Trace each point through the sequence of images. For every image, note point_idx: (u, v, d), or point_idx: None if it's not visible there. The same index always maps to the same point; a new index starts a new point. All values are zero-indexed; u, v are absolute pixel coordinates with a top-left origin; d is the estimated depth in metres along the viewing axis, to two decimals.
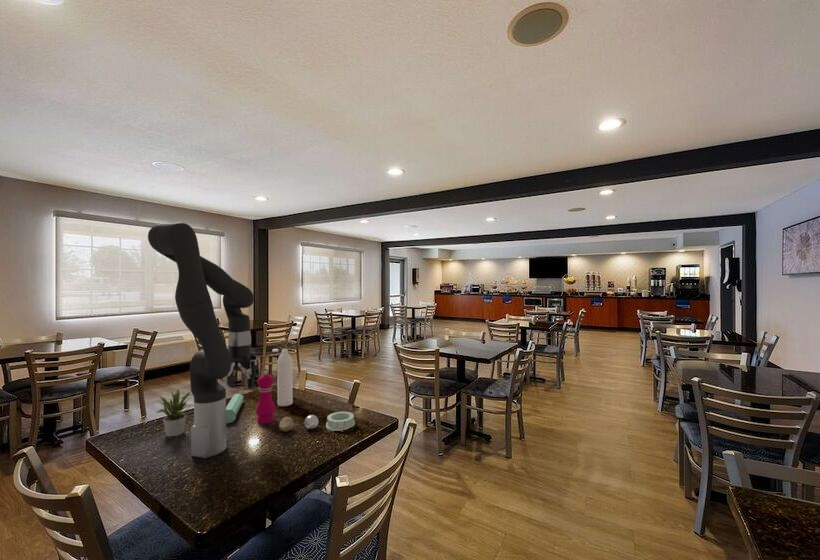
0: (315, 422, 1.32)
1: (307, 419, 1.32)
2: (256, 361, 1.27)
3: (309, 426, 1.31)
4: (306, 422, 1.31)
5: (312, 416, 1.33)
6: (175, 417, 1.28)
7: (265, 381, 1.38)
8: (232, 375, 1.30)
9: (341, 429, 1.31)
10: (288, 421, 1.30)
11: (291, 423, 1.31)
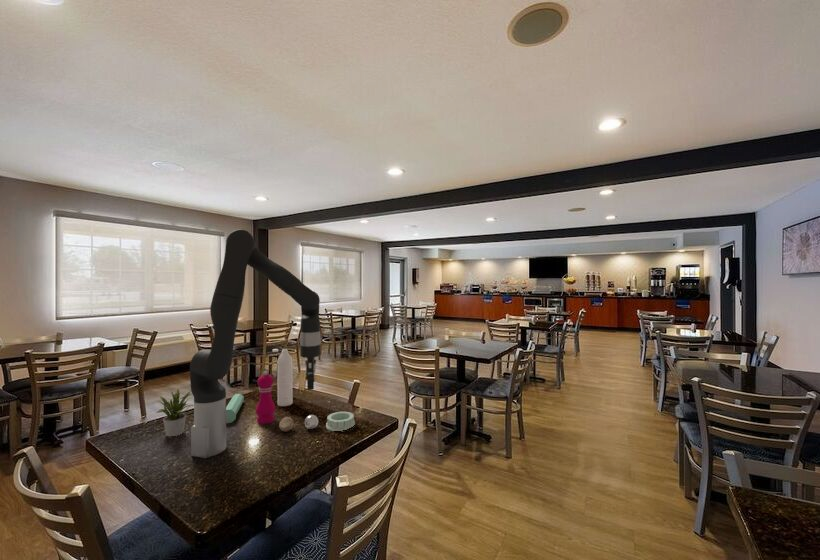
0: (315, 422, 1.32)
1: (307, 419, 1.32)
2: None
3: (309, 426, 1.31)
4: (306, 422, 1.31)
5: (312, 416, 1.33)
6: (175, 417, 1.28)
7: (265, 381, 1.38)
8: None
9: (341, 429, 1.31)
10: (288, 421, 1.30)
11: (291, 423, 1.31)
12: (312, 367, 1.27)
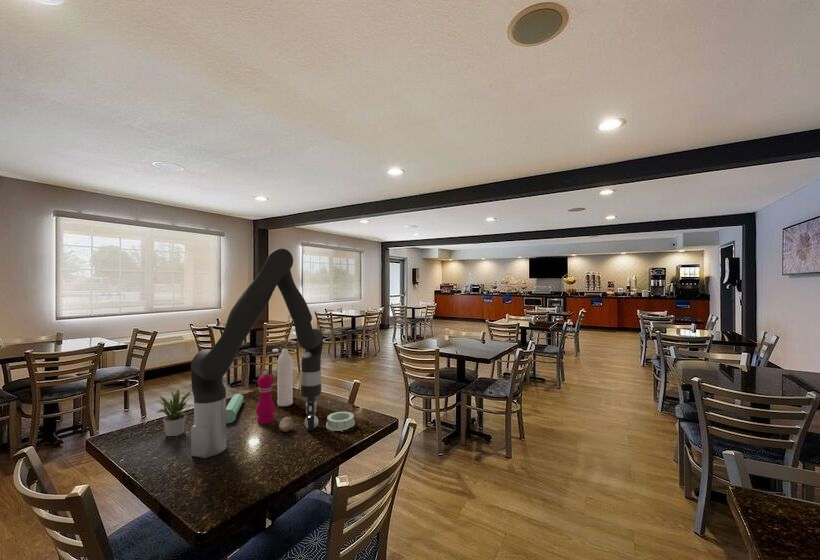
0: (315, 422, 1.32)
1: None
2: None
3: None
4: (306, 422, 1.31)
5: (312, 416, 1.33)
6: (175, 417, 1.28)
7: (265, 381, 1.38)
8: None
9: (341, 429, 1.31)
10: (288, 421, 1.30)
11: (291, 423, 1.31)
12: (312, 410, 1.27)
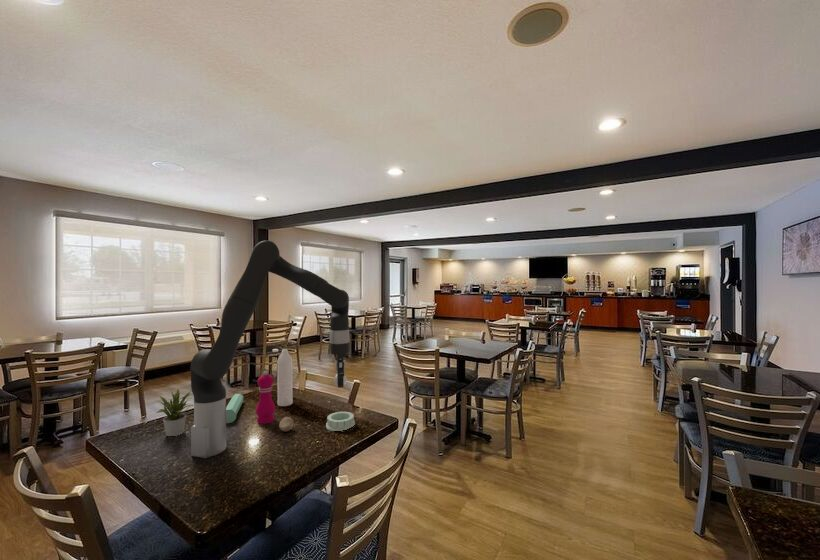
0: (344, 380, 1.35)
1: (336, 377, 1.35)
2: None
3: None
4: (336, 379, 1.34)
5: None
6: (175, 417, 1.28)
7: (265, 381, 1.38)
8: None
9: (341, 429, 1.31)
10: (288, 421, 1.30)
11: (291, 423, 1.31)
12: (343, 367, 1.30)
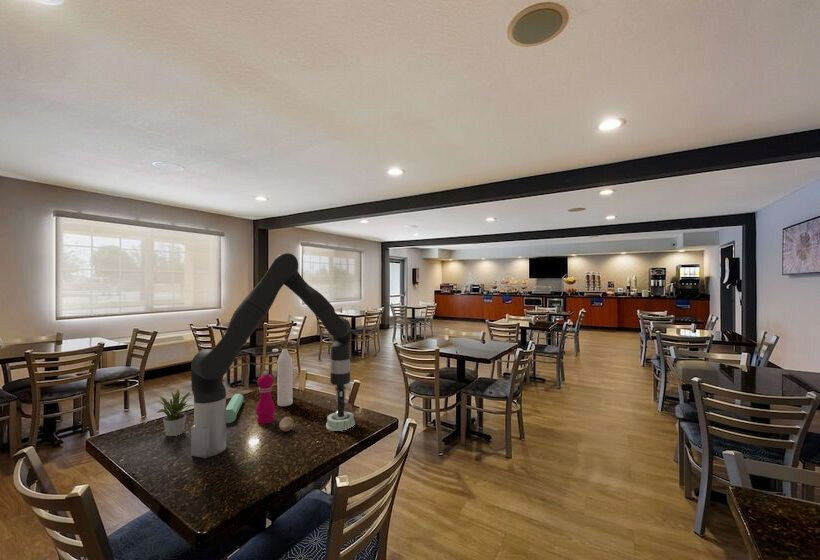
0: (344, 417, 1.35)
1: (337, 414, 1.34)
2: None
3: None
4: (336, 417, 1.34)
5: None
6: (175, 417, 1.28)
7: (265, 381, 1.38)
8: None
9: (341, 429, 1.31)
10: (288, 421, 1.30)
11: (291, 423, 1.31)
12: (343, 396, 1.30)
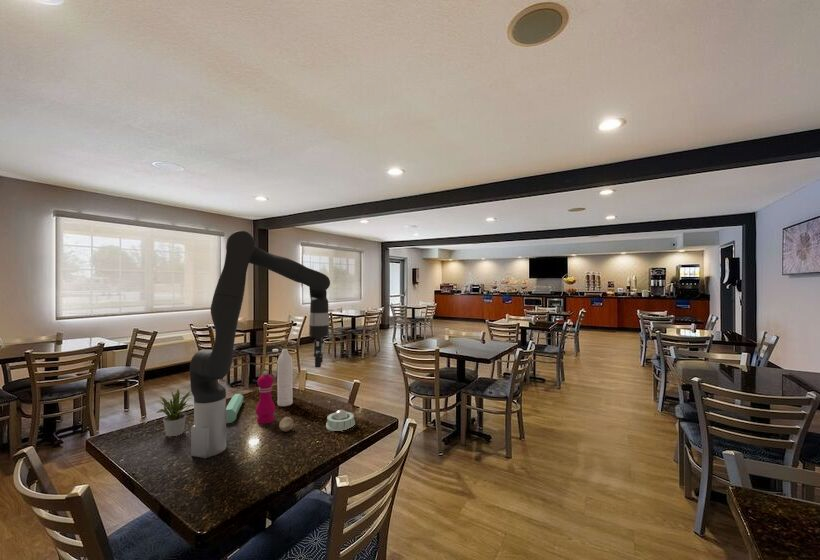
0: (345, 417, 1.35)
1: (337, 413, 1.34)
2: None
3: None
4: (336, 416, 1.34)
5: (342, 411, 1.35)
6: (175, 417, 1.28)
7: (265, 381, 1.38)
8: None
9: (341, 429, 1.31)
10: (288, 421, 1.30)
11: (291, 423, 1.31)
12: (320, 345, 1.33)
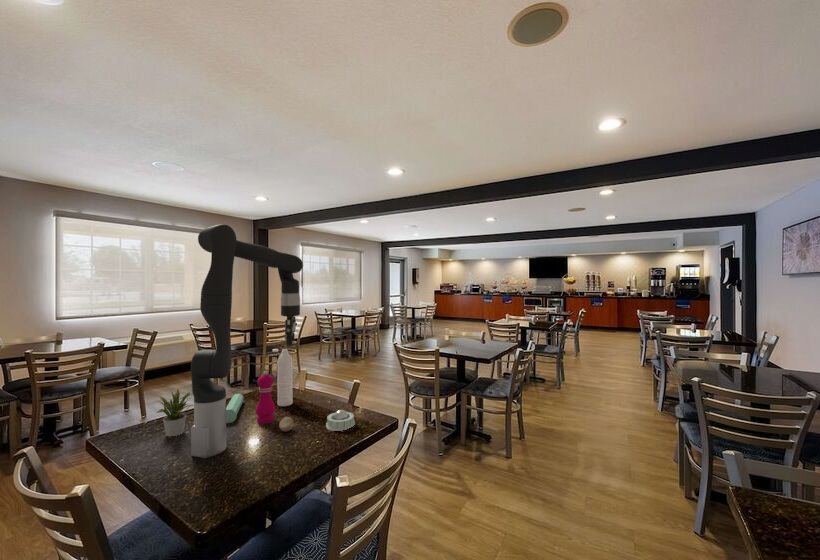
0: (345, 417, 1.35)
1: (337, 413, 1.34)
2: None
3: None
4: (336, 416, 1.34)
5: (342, 411, 1.35)
6: (175, 417, 1.28)
7: (265, 381, 1.38)
8: None
9: (341, 429, 1.31)
10: (288, 421, 1.30)
11: (291, 423, 1.31)
12: (290, 324, 1.40)
